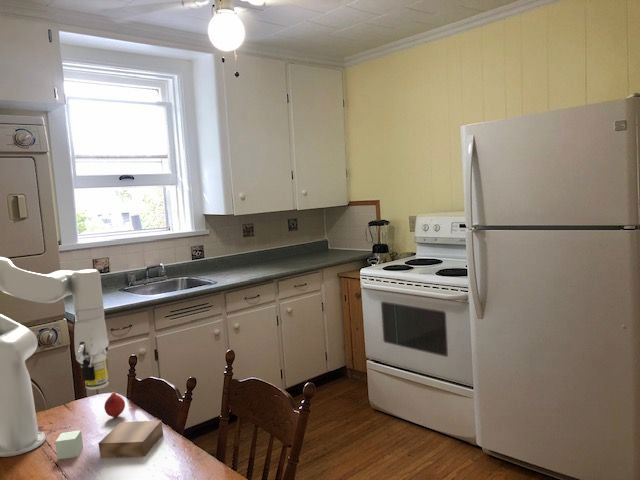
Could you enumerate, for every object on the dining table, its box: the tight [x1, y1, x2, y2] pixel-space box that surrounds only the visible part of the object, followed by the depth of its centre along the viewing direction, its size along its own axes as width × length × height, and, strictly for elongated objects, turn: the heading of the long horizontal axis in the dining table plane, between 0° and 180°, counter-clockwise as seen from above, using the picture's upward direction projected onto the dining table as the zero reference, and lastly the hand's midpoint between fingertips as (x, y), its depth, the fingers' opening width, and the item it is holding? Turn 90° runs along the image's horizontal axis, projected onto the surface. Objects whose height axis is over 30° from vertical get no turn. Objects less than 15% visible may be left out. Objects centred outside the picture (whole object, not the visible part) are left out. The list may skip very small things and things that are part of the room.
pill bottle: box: [84, 348, 110, 391], centre depth 146 cm, size 6×6×11 cm
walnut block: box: [97, 419, 164, 459], centre depth 139 cm, size 12×12×4 cm
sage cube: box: [54, 429, 84, 460], centre depth 138 cm, size 5×5×5 cm
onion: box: [103, 391, 126, 419], centre depth 158 cm, size 6×6×8 cm
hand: (96, 375), depth 146 cm, fingers closed on pill bottle, 6 cm apart
